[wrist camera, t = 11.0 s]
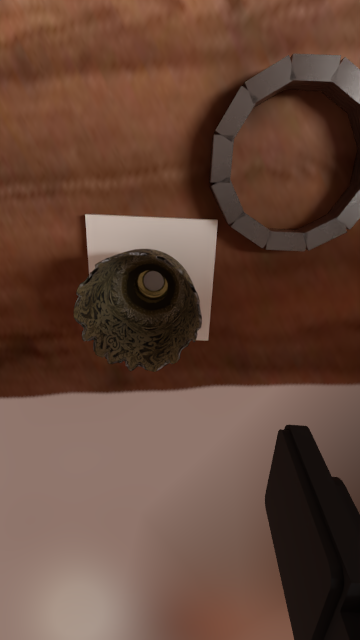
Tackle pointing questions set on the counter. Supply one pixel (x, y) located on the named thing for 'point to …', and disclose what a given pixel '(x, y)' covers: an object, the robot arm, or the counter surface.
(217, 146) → the stone ring
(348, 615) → the robot arm
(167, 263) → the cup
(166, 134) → the counter surface
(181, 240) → the stone coaster
